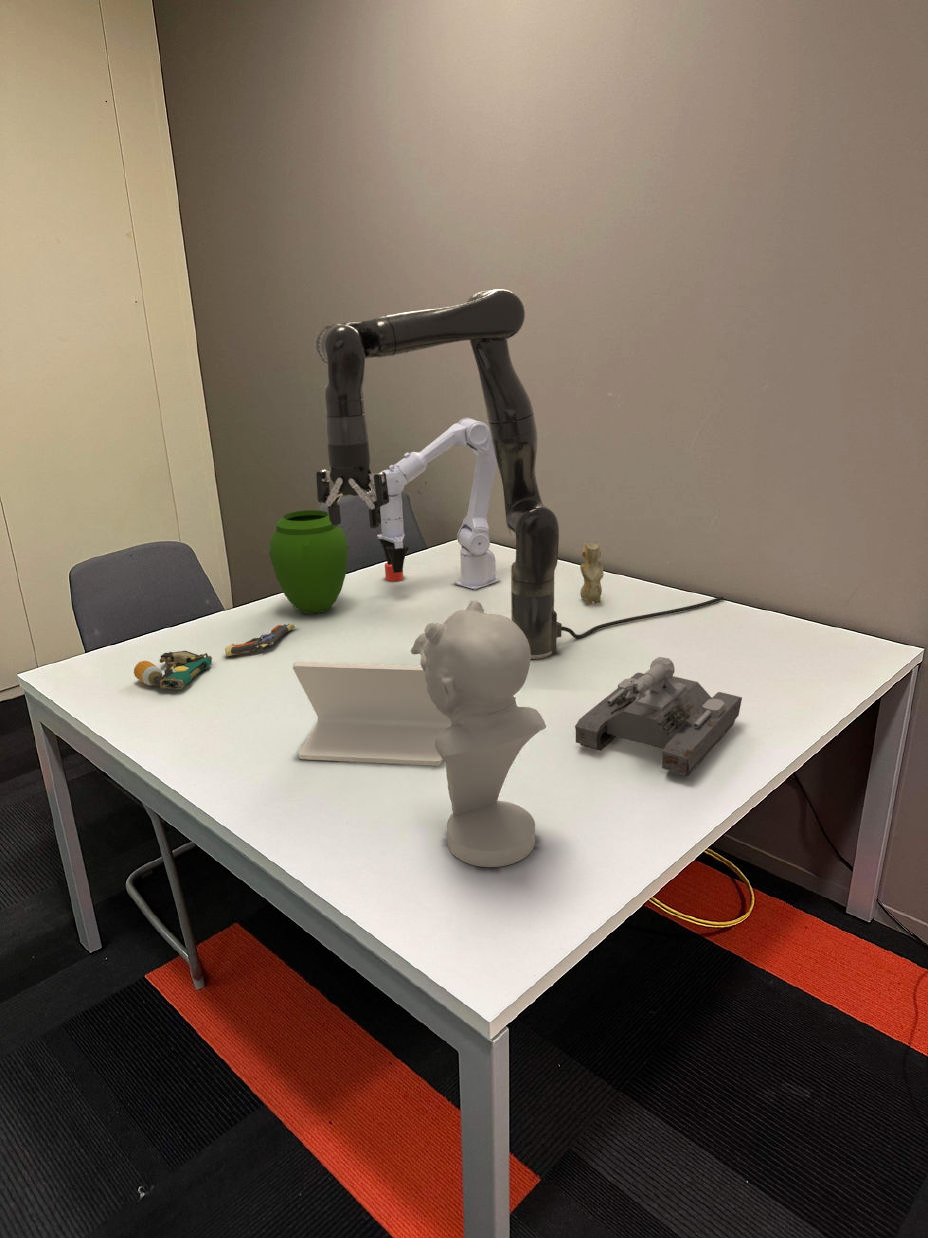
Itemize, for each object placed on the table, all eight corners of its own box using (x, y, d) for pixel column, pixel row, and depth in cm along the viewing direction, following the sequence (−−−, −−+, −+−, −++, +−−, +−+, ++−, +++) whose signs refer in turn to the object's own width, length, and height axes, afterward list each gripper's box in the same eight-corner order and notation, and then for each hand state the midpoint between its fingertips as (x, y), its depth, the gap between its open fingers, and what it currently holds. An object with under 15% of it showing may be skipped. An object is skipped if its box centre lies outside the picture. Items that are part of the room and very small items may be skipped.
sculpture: (599, 596, 220) (601, 540, 215) (605, 605, 214) (607, 548, 208) (577, 597, 220) (578, 541, 215) (582, 606, 213) (583, 549, 208)
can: (382, 580, 239) (381, 565, 237) (391, 575, 243) (390, 560, 241) (397, 582, 237) (396, 567, 235) (406, 577, 241) (405, 562, 239)
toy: (637, 695, 165) (641, 623, 160) (740, 721, 154) (747, 645, 149) (574, 750, 146) (575, 670, 141) (685, 784, 135) (691, 699, 130)
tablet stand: (441, 765, 143) (437, 672, 137) (297, 759, 146) (287, 668, 140) (456, 716, 160) (453, 631, 154) (327, 711, 163) (319, 628, 157)
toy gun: (221, 647, 188) (262, 644, 186) (256, 622, 206) (295, 619, 204) (223, 659, 189) (265, 656, 187) (258, 633, 207) (297, 630, 205)
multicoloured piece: (177, 659, 191) (231, 671, 185) (120, 684, 176) (176, 698, 171) (176, 641, 190) (230, 653, 184) (118, 665, 175) (174, 678, 169)
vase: (368, 603, 220) (362, 511, 212) (318, 627, 205) (308, 529, 196) (311, 592, 230) (303, 503, 222) (259, 614, 215) (248, 520, 206)
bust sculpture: (481, 772, 140) (476, 569, 128) (565, 848, 120) (569, 617, 108) (392, 800, 134) (378, 588, 121) (465, 886, 114) (457, 642, 101)
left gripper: (371, 512, 225) (374, 562, 230) (382, 525, 212) (385, 577, 217) (397, 510, 227) (400, 559, 231) (409, 522, 214) (412, 574, 218)
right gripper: (391, 437, 156) (397, 523, 162) (326, 435, 162) (334, 518, 168) (370, 444, 150) (377, 533, 156) (303, 442, 156) (312, 528, 161)
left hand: (394, 568), depth 224 cm, fingers open, 7 cm apart
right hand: (355, 526), depth 162 cm, fingers open, 8 cm apart
